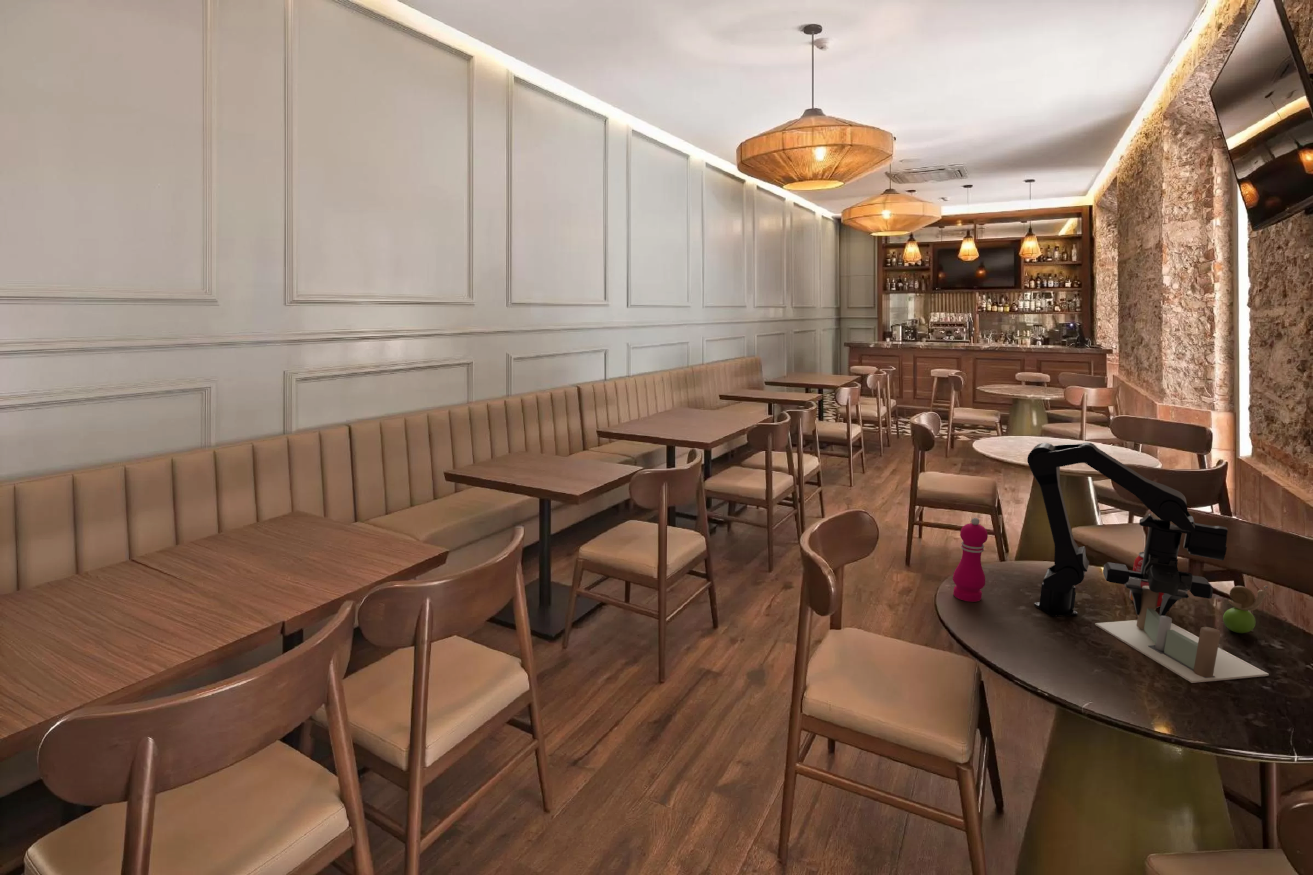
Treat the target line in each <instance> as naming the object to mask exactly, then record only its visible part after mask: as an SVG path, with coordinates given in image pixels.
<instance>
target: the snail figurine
mask: <svg viewBox="0 0 1313 875" xmlns="http://www.w3.org/2000/svg"><path fill="white" fill-rule="evenodd" d="M1262 588H1263V589H1259V590H1258V591H1257V596H1256V597H1255V594H1254V593H1253V591H1252V590H1251V589H1249V588H1248V587H1247V586H1243V585H1236V586H1233V587H1232V588H1231V589H1230V591H1229V597H1230V599H1228V600H1227V601H1228V603H1229V604H1230V606H1232V607H1231V608H1229V609H1227V610H1226V611H1224V614H1223V616H1222V620H1223V621H1222V622H1223V623H1224V626H1225V627H1226V628H1227V629H1228V630H1230V631H1232V632H1233V633H1237V634H1246V633H1250V632H1251V631H1253V629H1254V628H1255V627H1256V617H1255V616H1254V615H1253V613H1252V612H1251V611H1255V610H1257V609H1258V608H1259V607H1260V606H1261V604H1262V602H1263V600H1264V598H1265V597H1266V595H1267V589H1268V585H1264V586H1263V587H1262Z"/></svg>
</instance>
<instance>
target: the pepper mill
mask: <svg viewBox="0 0 1313 875" xmlns="http://www.w3.org/2000/svg"><path fill="white" fill-rule="evenodd" d="M970 522H971V523H966V524H964V525H962V527H961V529H960V533H959V536H960V538H961V540H962V541H961V545H960V548H961V549H962V554H961V558H960V561H959V563H958V564H957V566H956V568H955V569H954V572H953V575H952V582H953V584H955V586H954V587H953V592H952V594H953V596H954V598H956V599H958V600H961V601H964V602H969V603H970V602H971V603H973V602H974V603H976V602H980V601H981V599H982V596H983V595H982V594H983V591H982V589H983V588H984V587H985V585H986V575H985V572H984V569H983V565H982V561H981V560H982V552H984V551H985V545H984V544H985V543H986V542H987V540H988V538H989V536H988V534H989V533H988V531H987V529H986V527H984V526H983V525H981V524H980V519H979V518H978V517H973V518H972V519H971V520H970Z"/></svg>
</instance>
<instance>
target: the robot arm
mask: <svg viewBox="0 0 1313 875" xmlns="http://www.w3.org/2000/svg"><path fill="white" fill-rule="evenodd" d="M1026 460H1027V465H1028V466H1029V468H1030V471H1031V474H1032V476H1033V477H1034V479H1035V480H1036V482H1037V484H1038V485H1039V487H1040V491H1041V495H1042V499H1043V503H1044V507H1045V511H1046V515H1047V520H1048V524H1049V527H1050V531H1051V536H1052V539H1053V543H1054V544H1053V545H1054V560H1053V561H1054V562H1053V563H1054V564H1053V565H1051V566H1050V567H1048V568H1047V570H1046V572H1045V575H1044V577H1043V580H1042V582H1041V586H1040V587H1041V588H1040V596H1039V602H1038V601H1037V602H1034V604H1033V605H1034V606H1035V607H1037V608H1038V609H1040V610H1042V611H1043V612H1045V613H1046V614H1048V615H1049V616H1051V617H1064V616H1067V617H1068V616H1076V615H1078V611H1076V610H1074V609H1075V603H1076V595H1077V592H1076V586H1077V585H1079V584H1081V583H1082V582H1083V581H1084V579H1085V576H1086V572H1087V573H1088V569H1089V565H1090V561H1089V559H1088V558H1087V556H1086V546H1080V547H1079V546H1078V544H1077V542H1076V541H1075V539H1074V535H1073V531H1072V526H1071V523H1070V520H1069V519H1070V518H1069V515H1068V511H1067V507H1066V506H1067V505H1066V502H1065V499H1064V494H1063V491H1062V486H1061V482H1060V481H1061V480H1060V479H1061V478H1060V477H1061V476H1060V475H1061V473H1060V472H1061V467H1066V466H1071V465H1077V464H1085V465H1087V466H1089V467H1091V468H1092V469H1093V470H1095V471H1096V472H1098V473H1100V474H1102V476H1105V477H1106V478H1107V479H1109V480H1111V481H1113V482H1114V483H1116V484H1117V485H1119V486H1120V487H1121V488H1124V489H1125V490H1127V491H1128V492H1129V493H1131V494H1132V495H1134V496H1135V497H1136V498H1138V500H1140V502H1141V503H1142V504H1143V505H1144V507H1146V508H1147V509H1148V510H1149V511H1150V512H1151V513H1148V514H1147V515H1146V516H1144V517H1141V518H1140V519H1139V521H1138V522H1139V526H1140V527H1141V526H1142V527H1147V528H1148V531H1147V537H1146V542H1145V546H1144V550H1143V552H1144V557H1143V563H1142V565H1141V572H1136V571H1133V570H1129V569H1128V567H1127V565H1126V564H1123V563H1116V562H1115V563H1114V562H1110V561H1107V562H1106V563H1105V564H1104V565H1103V569H1102V574H1103V576H1104V579H1105V581H1106V582H1109V583H1112V584H1120V585H1124V587H1125V588H1127V589H1129V591H1130V590H1131V593H1132V597H1133V601H1132V602H1133V604H1134V609H1135V614H1136V615H1137V616H1138V615H1139V614H1140V609H1141V593H1142V591H1143V589H1142V587H1141V585H1140V584H1141V581H1142V582H1148V583H1149V589H1150V590H1151V591H1153V592H1156V593H1159V592H1160V593H1164V595H1163V599H1162V603H1161V607H1160V608H1159V613H1158V614H1159V616H1167V613H1169V611H1170V610H1171V609H1172V607H1173V605H1174V604H1176V603H1177V602H1178V601H1180V600H1181V599H1188V598H1189V597H1190V595H1189V594H1188V592H1190V593H1191V595H1192V596H1193V597H1197V598H1202V599H1203V598H1204V599H1208V600H1209V599H1212V598H1213V593H1214V587H1213V585H1211V583H1210V582H1209V581H1208V579H1206V577H1204V576H1200V575H1199V576H1198V575H1193V574H1192V572H1185V571H1182V570H1179V568H1178V564H1179V562H1178V560H1179V558H1178V556H1179V550H1180V546H1181V545H1180V544H1181V540H1182V534H1184V540H1183V549H1185V550H1186V551H1187V552H1188V554H1189V555H1192V556H1197V557H1203V558H1207V559H1213V560H1217V561H1224V560H1225V557H1226V554H1227V548H1228V546H1227V540H1228V539H1227V538H1228V532H1229V531H1228V527H1227V526H1222V525H1210V524H1203V523H1198V522H1195V520H1194V516H1192V515H1191V514H1190V512H1189V510H1188V504H1187V503H1188V502H1187V498H1186V497H1185V495H1184V494H1183V493H1182V492H1181V491H1179V490H1177V489H1174V488H1172V487H1170V486H1168V485H1166V484H1163V483H1159V482H1157V481H1153V480H1151V479H1148V478H1146V477H1144V476H1143V475H1141V474H1139V473H1138V472H1136V470H1134V469H1132V468H1130V467H1129V466H1127V465H1125V464H1124V463H1123V462H1120V461H1119V460H1117V459H1116V458H1114V457H1112V456H1111V455H1110V454H1108V453H1106V452H1104V451H1103V450H1101V449H1100V448H1098V447H1097V446H1096V445H1095V444H1094V443H1092V442H1082V443H1072V444H1071V443H1070V444H1067V443H1066V444H1057V445H1053V444H1052V443H1048V442H1042V443H1039V444H1036V445H1035V446H1034V447H1033V448H1032V449H1031V451H1029V453H1028V455H1027V459H1026ZM1152 514H1153V515H1155V516H1156V517H1157V518H1156V517H1154V516H1153V515H1152ZM1172 523H1173V524H1172Z"/></svg>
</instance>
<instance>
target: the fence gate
mask: <svg viewBox="0 0 1313 875" xmlns="http://www.w3.org/2000/svg"><path fill="white" fill-rule="evenodd" d="M1142 589H1143V591H1142V593H1141V609H1140V614H1139V615H1137V619H1136V620H1137V627H1139V628H1141V629H1144V630H1145V632H1146V633H1147V634H1148V635H1149V637H1150V638H1151V639H1152V640H1153V642H1154V643H1155V644H1156V639H1157V633H1158V626H1159V620H1160V616H1159V613H1158V612H1157V608H1156V607H1157V601H1158V595H1159V593H1156V592H1153V591H1151V590H1150V589H1149V586H1142Z"/></svg>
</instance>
